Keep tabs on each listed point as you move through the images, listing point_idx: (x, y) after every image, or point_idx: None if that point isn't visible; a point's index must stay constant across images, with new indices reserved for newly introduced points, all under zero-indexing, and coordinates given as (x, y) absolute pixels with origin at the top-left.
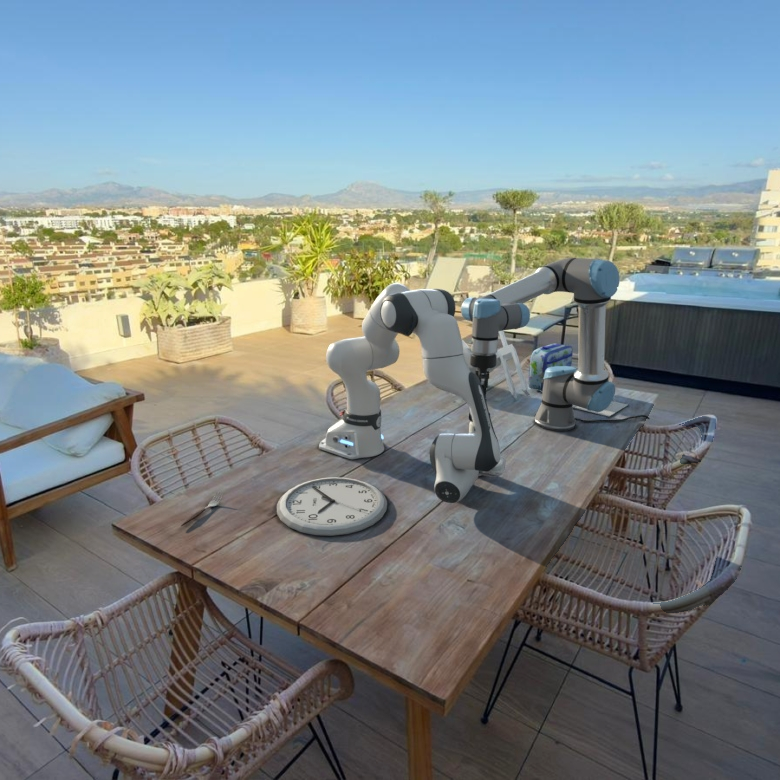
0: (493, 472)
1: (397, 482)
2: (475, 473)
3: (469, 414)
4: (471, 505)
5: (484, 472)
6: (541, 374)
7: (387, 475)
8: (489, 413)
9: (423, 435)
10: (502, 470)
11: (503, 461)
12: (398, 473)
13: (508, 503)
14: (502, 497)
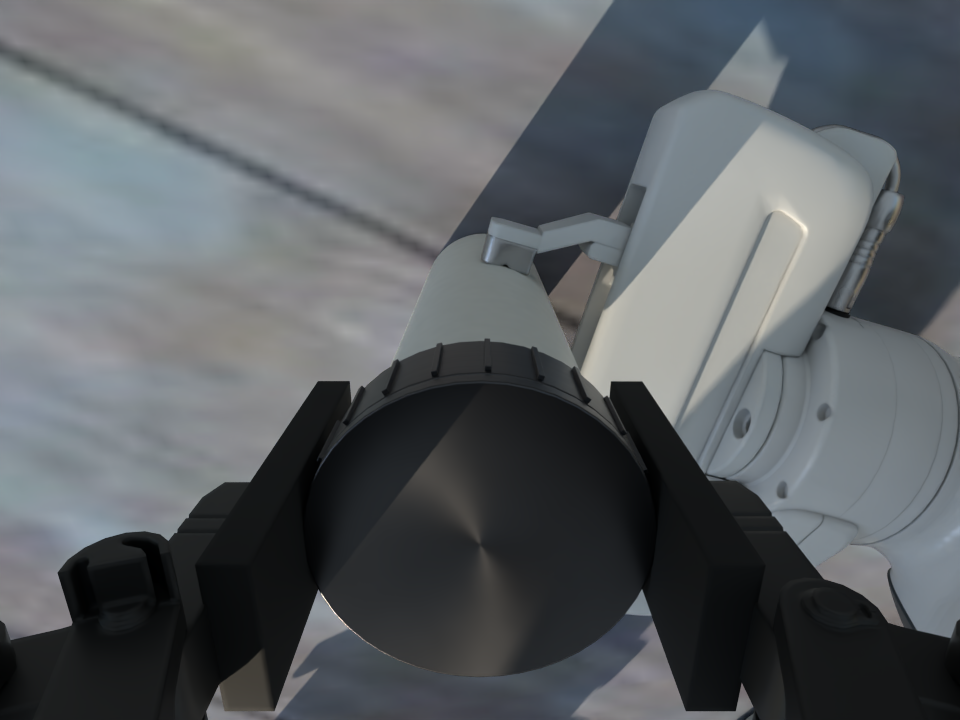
0: (895, 209)
1: (663, 652)
2: (948, 353)
3: (521, 660)
4: (907, 312)
5: (865, 278)
6: None
7: (594, 696)
8: (457, 392)
9: (30, 595)
10: (843, 128)
11: (770, 115)
12: (566, 658)
13: (896, 85)
14: (817, 121)
